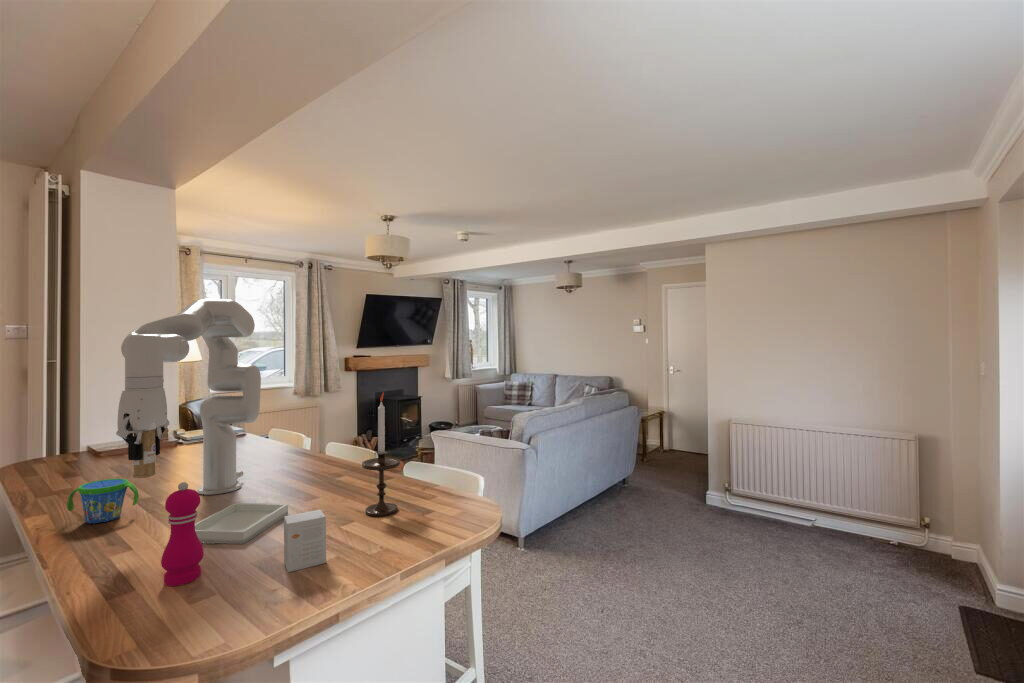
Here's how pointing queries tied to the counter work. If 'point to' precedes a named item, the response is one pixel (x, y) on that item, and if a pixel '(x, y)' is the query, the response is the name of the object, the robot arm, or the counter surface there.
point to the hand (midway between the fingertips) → (144, 456)
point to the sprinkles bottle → (146, 454)
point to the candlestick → (381, 469)
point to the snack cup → (102, 499)
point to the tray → (239, 522)
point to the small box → (304, 540)
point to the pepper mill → (182, 538)
